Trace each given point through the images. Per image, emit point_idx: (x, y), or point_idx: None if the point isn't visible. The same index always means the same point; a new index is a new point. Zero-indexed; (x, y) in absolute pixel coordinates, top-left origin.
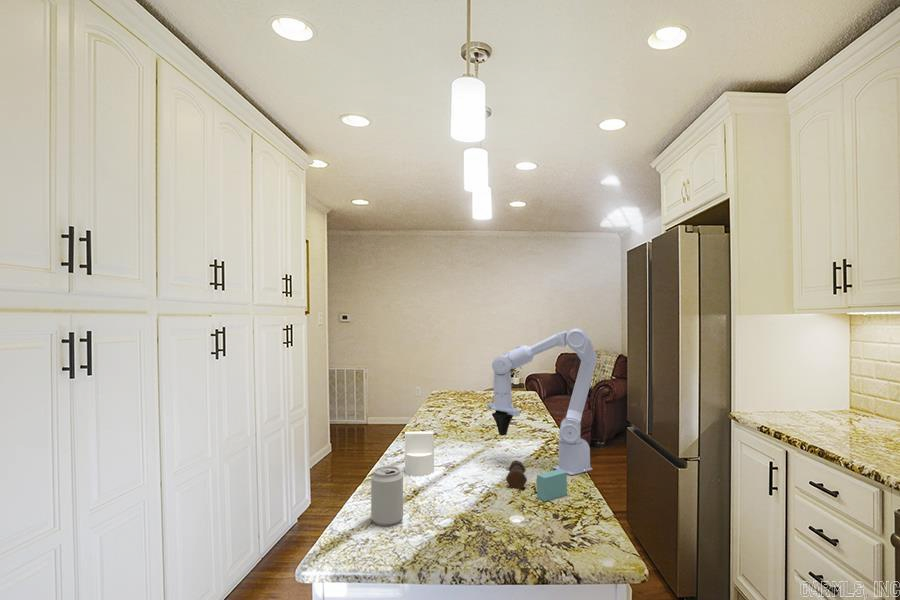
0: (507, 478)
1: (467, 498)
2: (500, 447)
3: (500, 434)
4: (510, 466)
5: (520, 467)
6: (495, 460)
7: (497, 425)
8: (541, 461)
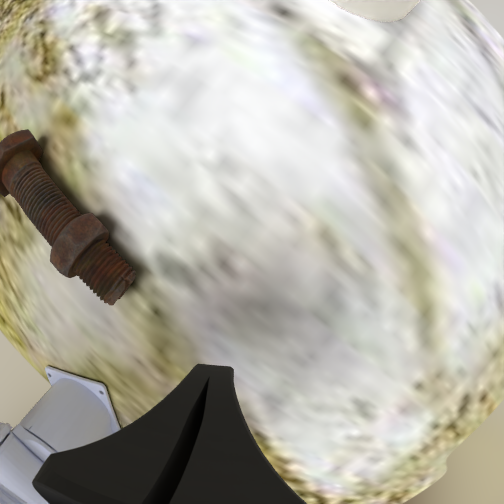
0: (21, 131)
1: (74, 7)
2: (396, 405)
3: (209, 367)
4: (76, 218)
5: (49, 243)
6: (301, 303)
7: (228, 416)
8: None
